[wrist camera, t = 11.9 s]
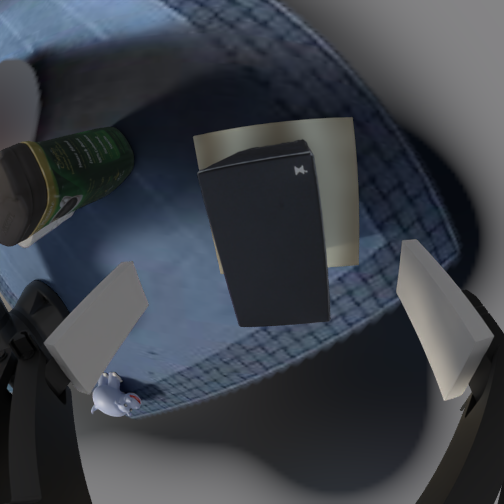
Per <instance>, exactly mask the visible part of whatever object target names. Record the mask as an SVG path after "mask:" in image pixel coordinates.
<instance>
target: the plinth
mask: <svg viewBox="0 0 504 504" xmlns="http://www.w3.org/2000/svg"><path fill="white" fill-rule="evenodd" d="M193 139H194V145H195V150H196V156H197V161H198V166H199V171H200V170H202V169H205V168H207V167H209V166H211V165H212V164H214V163H217V162H219V161H221V160H223V159H225V158H227V157H229V156H231V155H233V154H235V153H237V152H239V151H243V150H246V149H249V148H254V147H263V146H267V145H268V146H269V145H275V144H281V143H286V142H294V141H297V140H302V139H303V140H305V141H306V142H307V144H308V147H309V148H310V150H311V151H312V153H313V155H314V158H315V165H316V171H317V177H318V184H319V191H320V199H321V207H322V215H323V225H324V234H325V243H326V253H327V267H338V266H351V265H359V193H358V172H357V158H356V146H355V135H354V126H353V117H345V118H322V119H307V120H295V121H285V122H276V123H267V124H260V125H253V126H246V127H239V128H233V129H228V130H222V131H217V132H211V133H206V134H202V135H197V136H193ZM210 227H211V225H210ZM211 231H212V229H211ZM212 236H213V233H212ZM213 241H214V245H215V250H216V254H217V259H218V263H219V268H220V272H221V274H224V272H223V268H222V265H221V261H220V258H219V254H218V251H217V247H216V244H215V240H214V236H213Z"/></svg>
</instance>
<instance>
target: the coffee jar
mask: <svg viewBox="0 0 504 504" xmlns="http://www.w3.org/2000/svg"><path fill="white" fill-rule="evenodd" d="M133 166H134V155H133V151H132V149H131V147H130V145H129V143H128V141H127V139H126V138H125V137H124V135H123V134H122V133H121V132H120V131H119V130H118V129H116V128H114V127H105V128H99V129H94V130H89V131H85V132H81V133H76V134H72V135H68V136H63V137H59V138H55V139H51V140H47V141H42V142H31V141H26V142H21V143H18V144H16V145H13V146H11V147H9V148H5V149H3V150H1V151H0V243H1V244H2V245H5V246H14V245H16V244H18V243H20V242H22V241H24V240H26V239H27V238H29V237H31V236H32V235H33V234H35V233H36V232H38V231H39V230H41V229H42V228H44V227H45V226H47V225H48V224H50V223H52V222H54V221H55V220H57V219H59V218H61V217H63V216H65V215H67V214H69V213H71V212H73V211H75V210H77V209H79V208H81V207H83V206H85V205H87V204H90V203H92V202H94V201H96V200H98V199H101V198H103V197H105V196H107V195H108V194H110V193H111V192H112V191H114V190H115V189H116V188H117V187H118V186H119V185H120V184H121V183H122V182H123V181H124V180H125V179H126V178H127V176H128V175H129V174H130V173H131V171H132V169H133Z"/></svg>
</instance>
